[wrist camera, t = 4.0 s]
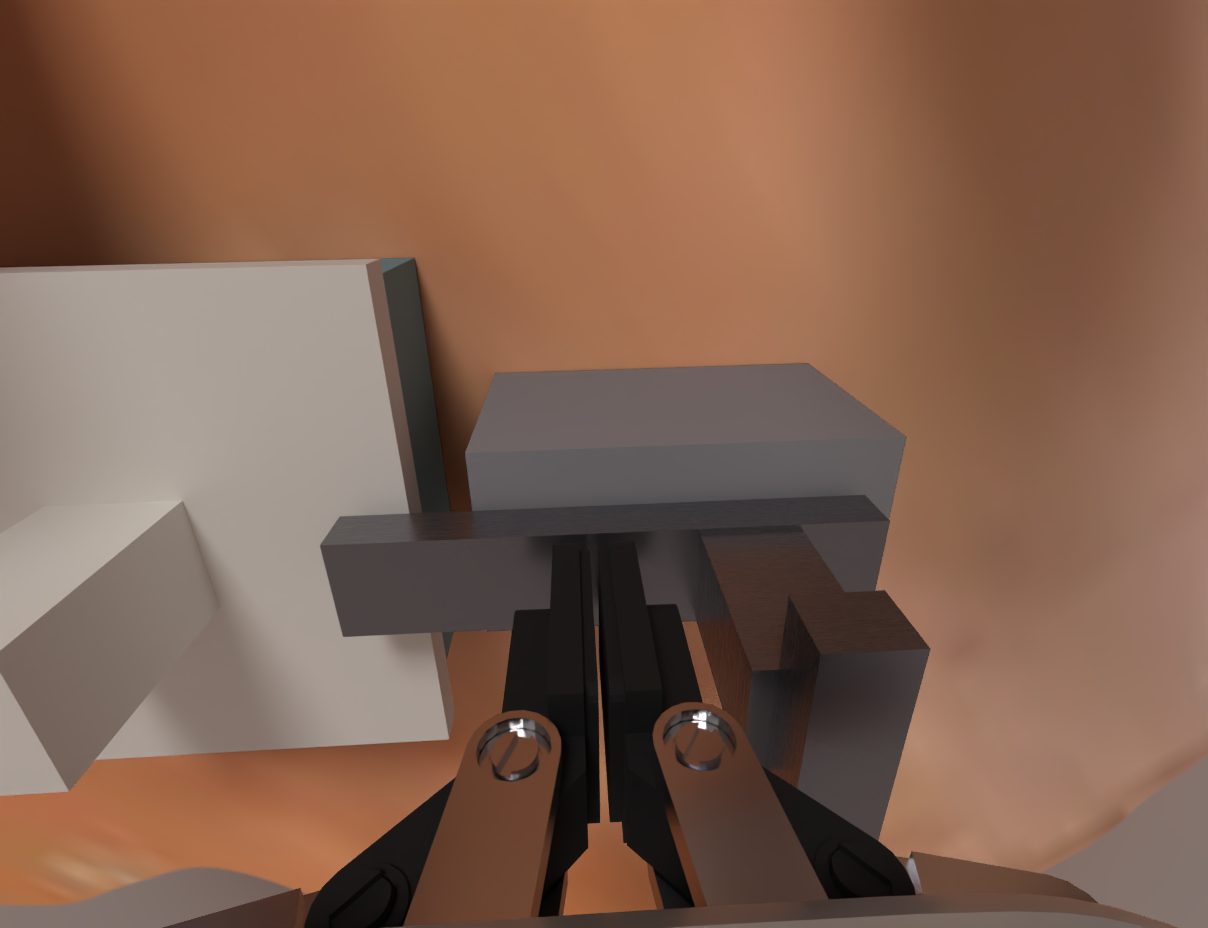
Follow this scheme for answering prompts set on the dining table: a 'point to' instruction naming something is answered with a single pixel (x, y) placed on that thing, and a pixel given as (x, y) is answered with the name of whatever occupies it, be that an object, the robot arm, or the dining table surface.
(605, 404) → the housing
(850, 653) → the bolt
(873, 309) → the dining table surface
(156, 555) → the lid
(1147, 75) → the dining table surface
